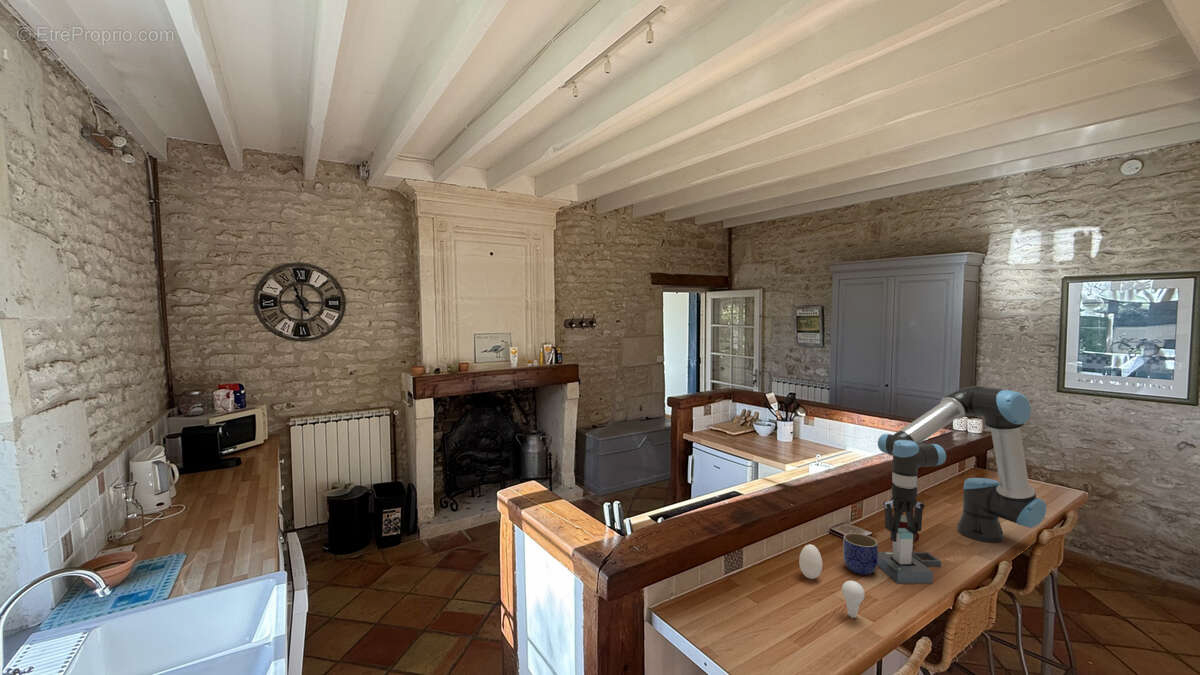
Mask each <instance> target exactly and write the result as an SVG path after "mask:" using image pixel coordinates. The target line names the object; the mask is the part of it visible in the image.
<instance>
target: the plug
mask: <svg viewBox="0 0 1200 675" xmlns="http://www.w3.org/2000/svg"><path fill="white" fill-rule="evenodd" d="M898 533H899V534H900V541H899V552H897V551H895V550H894V549H893V548H892V550H893V551H892V552H893V559H894V560H895V561H897V562H898V563H899V564H911V558H912V533H911V532H909V531H908V530H907V529H905V528H898Z"/></svg>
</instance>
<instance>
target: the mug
mask: <svg viewBox="0 0 1200 675" xmlns="http://www.w3.org/2000/svg"><path fill="white" fill-rule="evenodd" d="M892 518H893V515H892ZM899 528H905V529H907V530H908V531H909V529H908V524H907V518H906V514H903V515H902V516H901V520H900V524H899ZM919 540H920V535H919V532H918V533H917V534H915V541H914V542H913V543H916V542H919Z"/></svg>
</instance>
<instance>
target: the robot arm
mask: <svg viewBox="0 0 1200 675" xmlns="http://www.w3.org/2000/svg"><path fill="white" fill-rule="evenodd" d="M1031 412H1032V407H1031V404H1030V401H1029V399H1028V398H1027V397H1026V396H1025V395H1024V394H1022V393H1021V392H1018V391H1014V390H1010V389H1000V388H999V389H998V388H991V387H985V386H979V385H974V386H968V387H963V388H961V389H958V390H954V391H953V392H951V393H949V394H948V395H945V396H944V397H943V398H942V399H940V402H939V404H937V405H936V406H935V407H933V408H932V409H930V410H928V411H927V412H926V413H925V412H924V414H923V415H921V416H918V418H916V419H915V420H913V421H911V422H910V423H909V424H907V425H906V426H904V427H903V428H901V429H900V430H898V431H897V432H895V433H894V434H892V433H883V434H881V436H879V438H878V440H877V448H878V449H879V450H880V451H881V452H882V453H883V454H886V455H889V456H891V457H892V473H891V474H892V475H891V481H892V484H891V495H892V497H891V498H890V500H889V501H887V502H886V501H883V502H882V504H883V506H884V507H883V508H884V528H885V529H886V530H888V531H889V532H890V541H892V544H891V546H892V547H891V548H892V550H893V549H894V550H895V551H897V552H899V541H900V534H899V533H898V528H899V524H900V520H901V516H902V515H904V513H905V515H906V518H907V524H908V529H909V532H911V533H912V552H914V551H913V549H914V548H913V547H914V544H913V543H915V542H914V541H915V538H916V536H915V534H917V533H918V534H919V532H921V531H922V522H923V510H924V508H925V506H926V505H925V504H924V503H922V502H920V501H917V497H918V488H917V486H918V471H919V470H918V469H920V468H926V467H937V466H940V465H943V464H944V463H945V462H946V461H947V453H946V451H945V449H944V448H943V447H942V446H941V445H939V444H936V443H927V444H926V443H923V442H924V441H925V440H927V439H928V438H930V437H932V436H933V435H934V434H936V433H937V432H938V431H940V430H942V429H943V428H944V427H946V426H948V425H949V424H950V423H952V422H954V421H955V420H961V419H963V418H965V417H967V416H976V417H981V418H983V420H984V421H983V422H984V426H985V427H986V428H989V430H990V432H991V439H992V443H993V444H992V445H993V449H994V456H995V463H996V467H997V473H998V479H999V481H998V480H996V479H993V478H988V477H987V478H984V477H970V478H969V477H968V478H967V479H965V480H964V482H963V489H962V490H963V496H962V497H963V498H962V499H963V500H962V503H963V504H962V508H963V509H962V514H961V516H960V518H959V521H958V522H957V526H956V528H957V532H958V533H959V534H961V535H963V536H965V537H967V538H970V539H973V540H975V541H980V542H981V541H982V542H985V543H986V542H987V543H1001V542H1003V541H1004V531H1003V529H1002V525H1001V523H1000V520H999V518H1001V519H1003V520H1005V521H1009V522H1012V523H1013V524H1016V525H1018V526H1023V527H1026V528H1031V529H1032V528H1035V527H1037V526H1039V525H1040V524H1041V523H1042V522H1043V520H1044V519H1045V516H1046V514H1047V505H1046V502H1045V501H1044V500H1042V499H1041V498H1039V497H1038V498H1037V494H1036V489H1034V487H1033V486H1030V483H1029V476H1028V471H1027V470H1028V469H1027V464H1026V457H1025V452H1024V445H1023V440H1022V434H1021V433H1022V432H1021V429H1022V428H1024V427H1025V426H1026V425H1025V423H1027V422H1029V419H1030V417H1031V415H1030V414H1032V413H1031ZM892 516H893V518H892Z"/></svg>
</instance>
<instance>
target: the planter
mask: <svg viewBox="0 0 1200 675" xmlns="http://www.w3.org/2000/svg"><path fill="white" fill-rule="evenodd" d="M842 540H843V543H842V548H843V549H842V550H843V551H842V554H843V555H842V556H843V562H844V564H845V566H846V567H847V569H848V570H850V571H851V572H853V573H854V574H858V575H863V576H867V575H871V574H873V573H874V572H875V571H876V569H877V567H878V566H877V558H878V552H879V549H878V548H879V543H878V541H877V540H876V539H875V538H874V537H872V536H870V535H867V534H863V533H858V532H850V533H846V534H844V535H843V539H842Z"/></svg>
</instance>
